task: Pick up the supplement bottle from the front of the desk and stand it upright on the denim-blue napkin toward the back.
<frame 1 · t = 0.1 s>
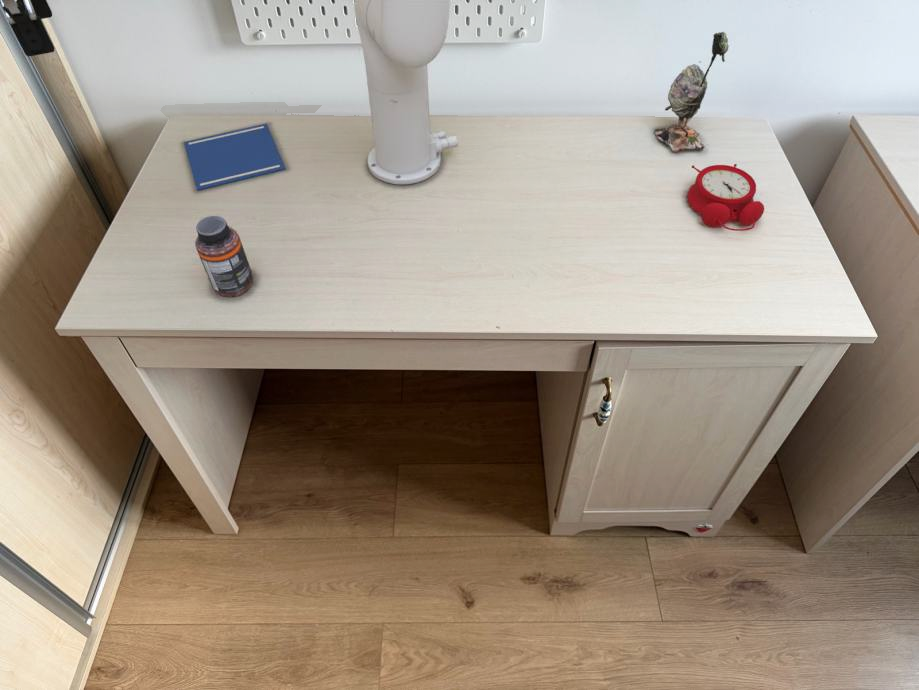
hand: (40, 35, 82), 31 cm above the table, tool pointing down, fingers open, 9 cm apart
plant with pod: (676, 138, 122), on the table
alarm clock: (721, 210, 109), on the table
supplement bottle: (234, 285, 99), on the table
napkin: (233, 156, 119), on the table
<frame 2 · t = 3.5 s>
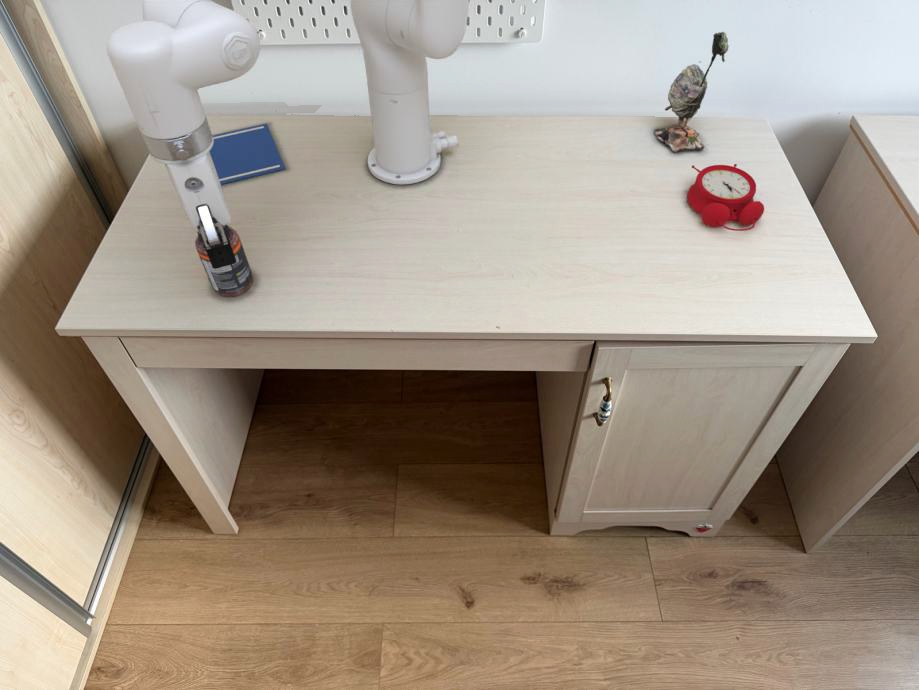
hand: (220, 248, 93), 7 cm above the table, tool pointing down, fingers closed on supplement bottle, 5 cm apart
supplement bottle: (234, 285, 99), on the table, touching gripper
everything else where it was.
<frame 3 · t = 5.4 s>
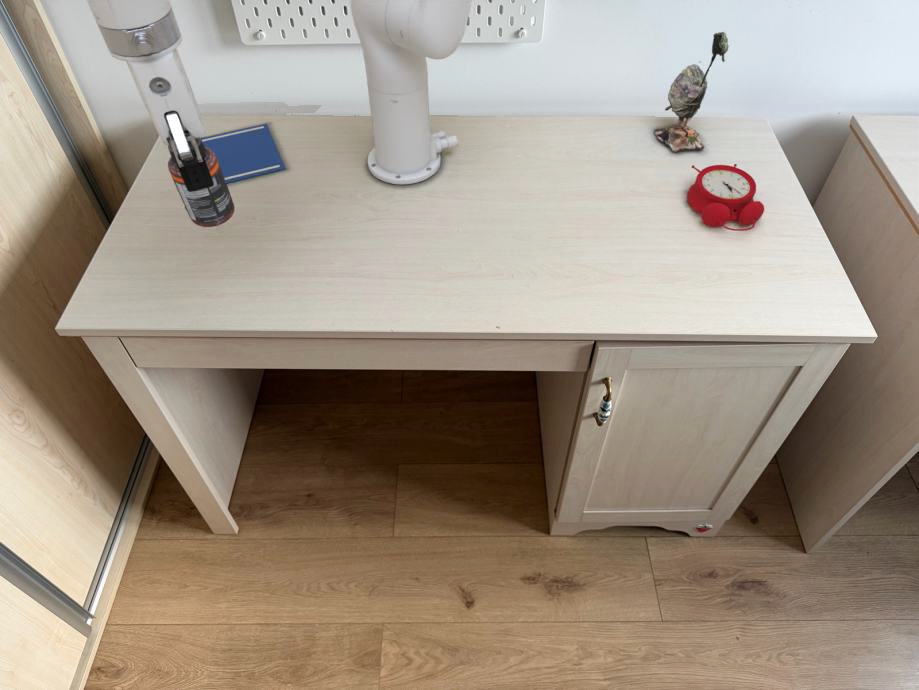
hand: (196, 171, 85), 19 cm above the table, tool pointing down, fingers closed on supplement bottle, 5 cm apart
supplement bottle: (213, 215, 90), point 12 cm above the table, touching gripper
everything else where it was.
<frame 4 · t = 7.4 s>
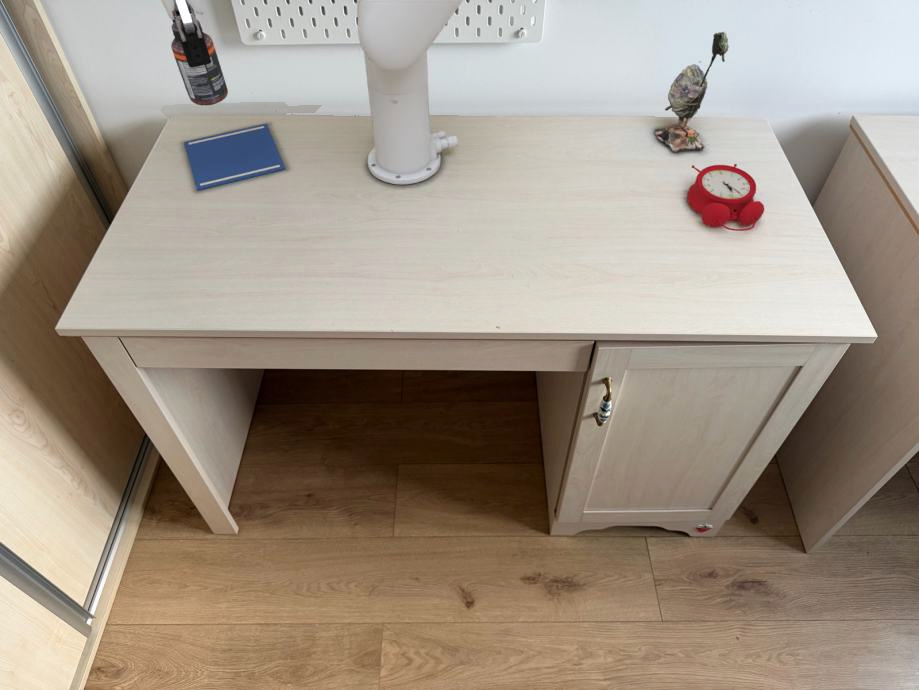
hand: (195, 53, 99), 21 cm above the table, tool pointing down, fingers closed on supplement bottle, 5 cm apart
supplement bottle: (209, 98, 105), point 14 cm above the table, touching gripper
everything else where it was.
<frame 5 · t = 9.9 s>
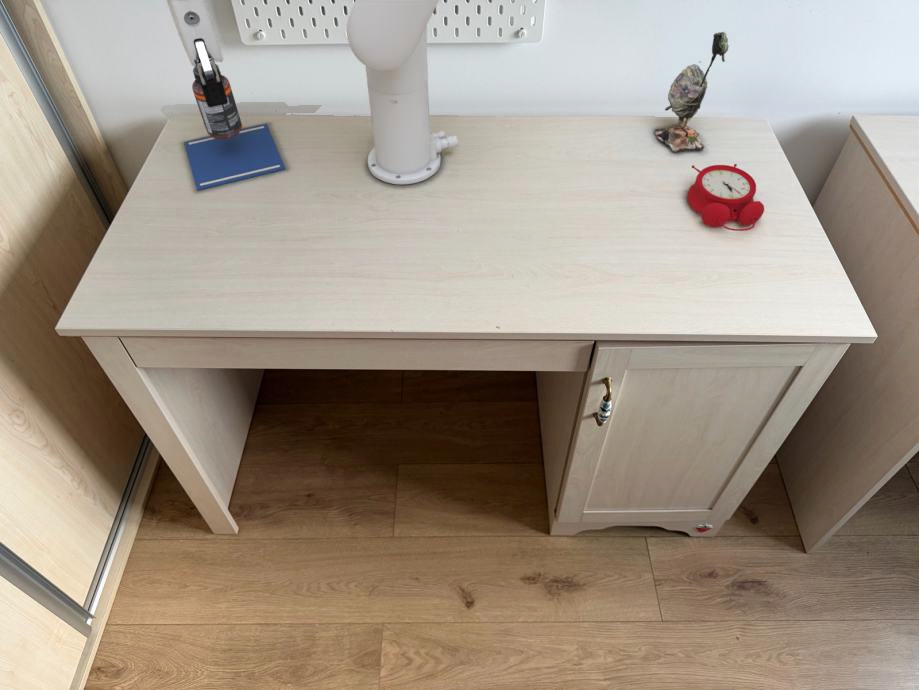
hand: (214, 93, 110), 12 cm above the table, tool pointing down, fingers closed on supplement bottle, 5 cm apart
supplement bottle: (225, 132, 115), point 5 cm above the table, touching gripper
everything else where it was.
when the fingers open (7 cm above the table, at t = 11.5 s): supplement bottle stays where it is, resting on napkin.
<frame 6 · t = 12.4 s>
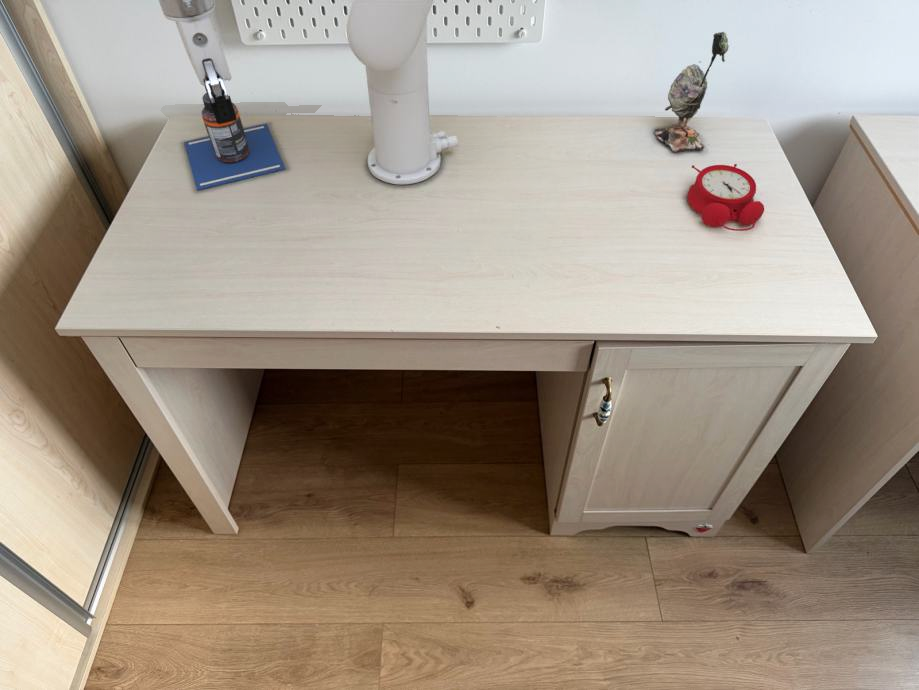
hand: (221, 106, 112), 10 cm above the table, tool pointing down, fingers open, 9 cm apart
supplement bottle: (233, 155, 119), resting on napkin
everything else where it was.
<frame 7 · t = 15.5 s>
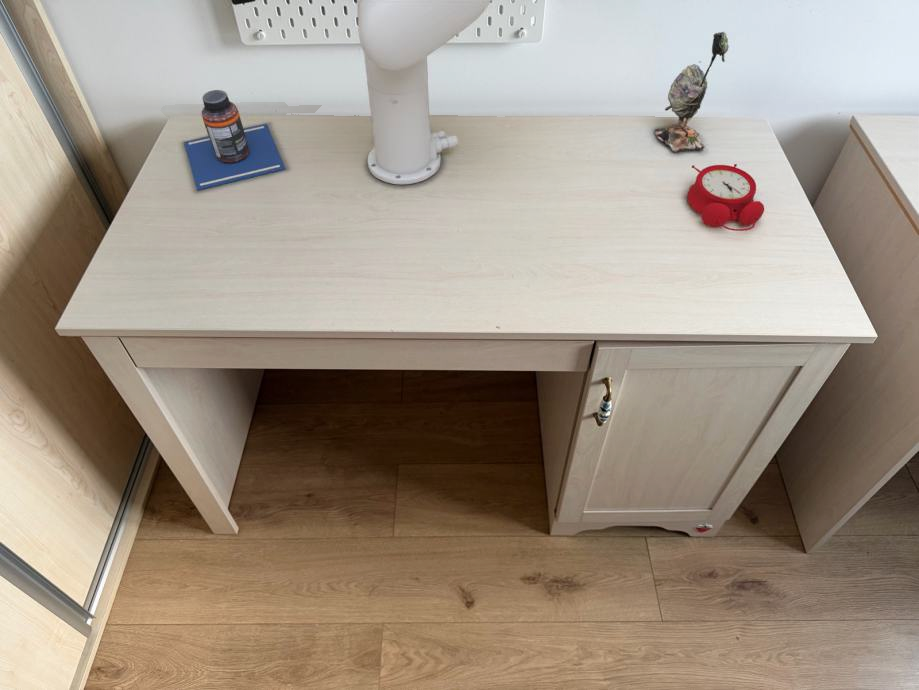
nothing on the table moved.
at the end: supplement bottle inside the target area on the napkin (0.1 cm from its centre), point 0.1 cm above the napkin's base; supplement bottle tilted 0°; the gripper is holding nothing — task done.
